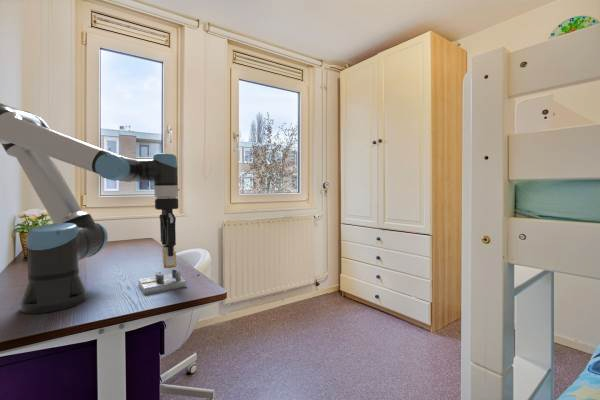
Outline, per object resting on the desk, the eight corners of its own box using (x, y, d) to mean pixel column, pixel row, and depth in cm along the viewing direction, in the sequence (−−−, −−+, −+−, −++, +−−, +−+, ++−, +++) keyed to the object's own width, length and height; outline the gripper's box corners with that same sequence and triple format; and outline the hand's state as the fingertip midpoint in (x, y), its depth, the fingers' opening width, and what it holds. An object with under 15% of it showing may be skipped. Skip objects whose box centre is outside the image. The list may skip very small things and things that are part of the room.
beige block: (165, 268, 102) (164, 248, 101) (162, 266, 105) (161, 247, 105) (178, 266, 104) (177, 246, 104) (174, 264, 108) (173, 245, 107)
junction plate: (144, 294, 95) (144, 280, 95) (138, 284, 104) (138, 272, 104) (186, 286, 102) (185, 273, 102) (177, 278, 112) (176, 266, 112)
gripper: (184, 198, 99) (186, 266, 100) (172, 197, 113) (173, 257, 113) (160, 198, 94) (162, 270, 95) (150, 197, 108) (152, 260, 109)
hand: (168, 263), depth 104 cm, fingers closed on beige block, 4 cm apart
